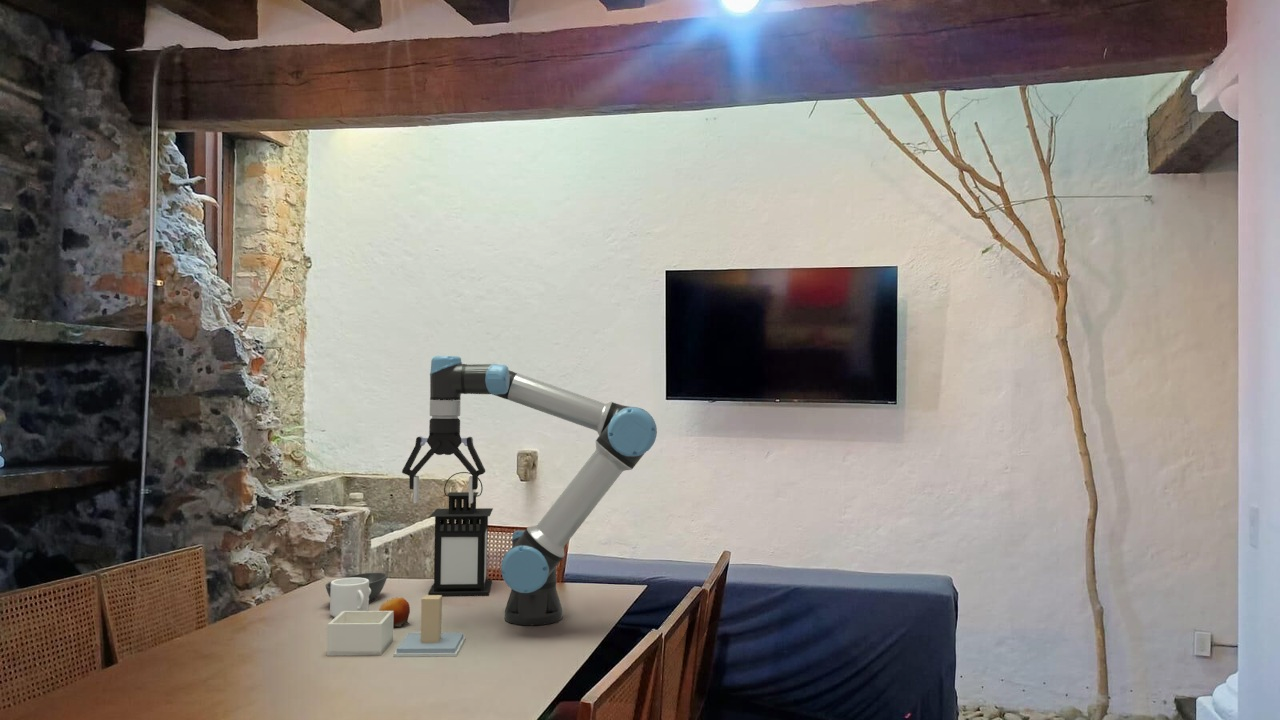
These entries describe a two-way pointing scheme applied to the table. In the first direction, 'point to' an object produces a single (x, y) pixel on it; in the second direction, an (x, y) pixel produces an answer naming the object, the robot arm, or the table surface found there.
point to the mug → (349, 595)
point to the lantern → (461, 547)
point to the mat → (430, 653)
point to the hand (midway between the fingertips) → (443, 502)
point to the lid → (430, 631)
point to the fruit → (397, 610)
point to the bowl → (374, 583)
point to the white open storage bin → (360, 633)
